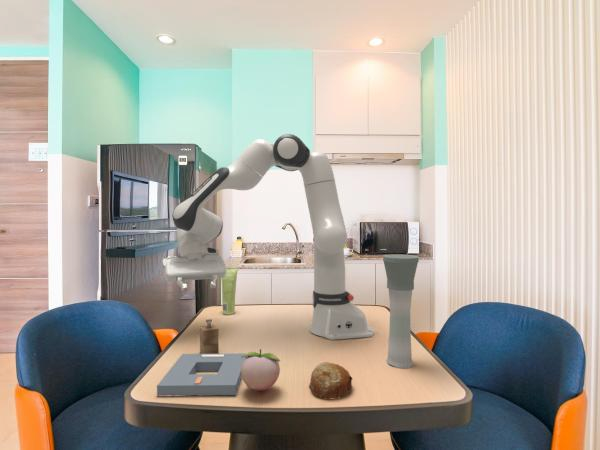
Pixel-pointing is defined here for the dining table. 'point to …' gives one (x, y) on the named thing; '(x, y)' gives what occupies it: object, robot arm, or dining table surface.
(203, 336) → the wooden peg with knob
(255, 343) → the dining table surface
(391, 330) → the container
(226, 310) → the tube
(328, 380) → the bread roll
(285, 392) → the dining table surface
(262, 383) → the decorative fruit
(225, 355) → the socket plate
